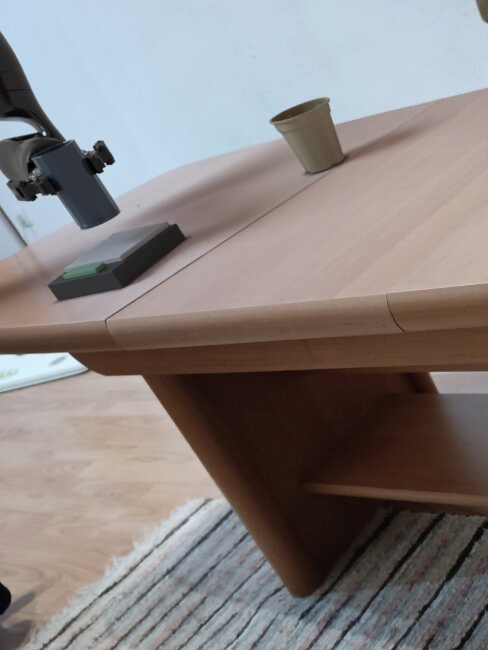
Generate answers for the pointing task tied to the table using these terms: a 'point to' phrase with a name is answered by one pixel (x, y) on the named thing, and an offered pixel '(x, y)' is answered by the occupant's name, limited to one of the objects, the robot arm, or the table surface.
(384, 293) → the table surface
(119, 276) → the scale
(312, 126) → the flower pot
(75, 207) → the cup
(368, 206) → the table surface
